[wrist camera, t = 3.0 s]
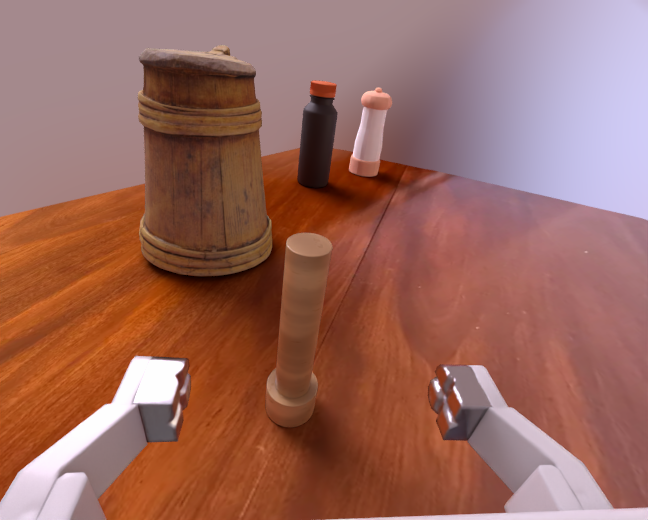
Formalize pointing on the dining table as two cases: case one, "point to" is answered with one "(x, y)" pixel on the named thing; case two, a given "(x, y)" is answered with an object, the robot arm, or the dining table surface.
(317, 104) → the bottle
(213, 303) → the dining table surface
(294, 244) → the wooden pestle
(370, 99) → the pepper shaker
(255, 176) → the tankard
